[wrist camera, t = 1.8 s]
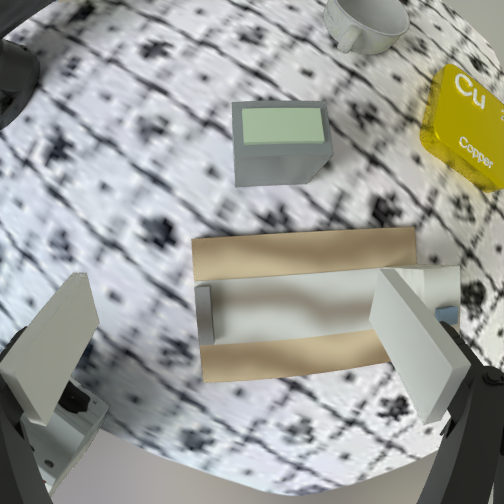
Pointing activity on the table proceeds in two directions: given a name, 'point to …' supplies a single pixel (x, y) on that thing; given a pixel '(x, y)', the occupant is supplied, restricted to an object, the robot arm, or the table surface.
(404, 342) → the robot arm
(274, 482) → the table surface
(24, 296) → the table surface
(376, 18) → the teacup
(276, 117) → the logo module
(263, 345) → the rail plate
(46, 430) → the circuit breaker
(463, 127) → the element tile
